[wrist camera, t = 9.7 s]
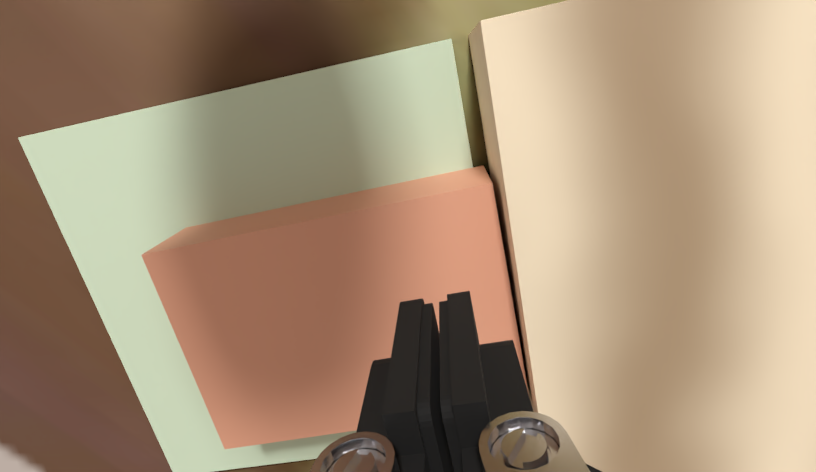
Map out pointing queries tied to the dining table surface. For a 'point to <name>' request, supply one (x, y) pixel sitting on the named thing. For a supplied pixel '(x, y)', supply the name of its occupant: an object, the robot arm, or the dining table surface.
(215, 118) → the mat
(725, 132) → the beige box
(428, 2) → the dining table surface
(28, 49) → the dining table surface
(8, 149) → the dining table surface
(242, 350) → the tile
